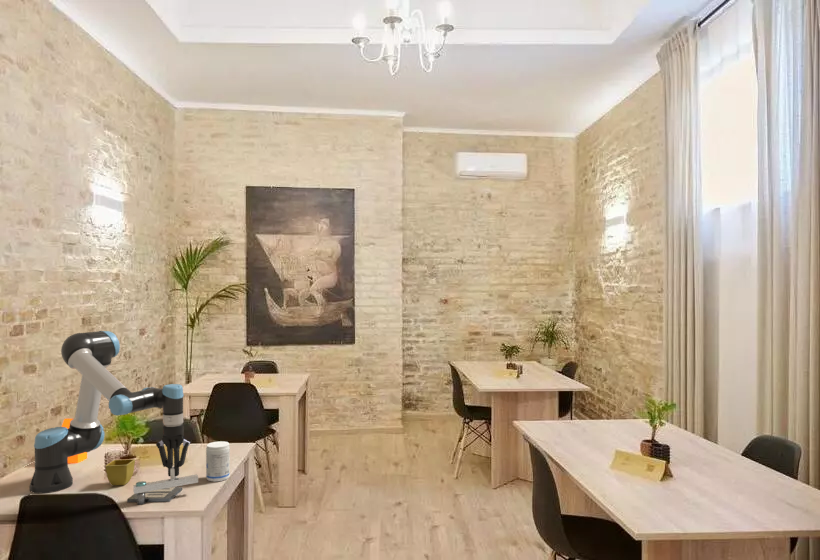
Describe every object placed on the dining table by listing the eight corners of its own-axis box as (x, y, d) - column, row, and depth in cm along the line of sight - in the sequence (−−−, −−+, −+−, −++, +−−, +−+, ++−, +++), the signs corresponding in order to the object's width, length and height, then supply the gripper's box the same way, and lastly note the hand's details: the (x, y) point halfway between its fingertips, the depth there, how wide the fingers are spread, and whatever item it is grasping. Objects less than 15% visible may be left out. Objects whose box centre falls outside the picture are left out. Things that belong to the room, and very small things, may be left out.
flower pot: (114, 480, 250) (114, 459, 250) (135, 480, 250) (135, 458, 250) (105, 487, 241) (105, 465, 241) (127, 487, 241) (127, 465, 241)
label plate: (127, 502, 224) (127, 498, 224) (142, 490, 237) (142, 486, 237) (169, 501, 224) (169, 497, 224) (182, 489, 237) (182, 486, 237)
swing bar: (134, 494, 220) (134, 485, 220) (133, 491, 223) (133, 482, 223) (198, 482, 232) (198, 474, 232) (196, 480, 235) (196, 472, 235)
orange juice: (69, 458, 283) (69, 416, 284) (87, 458, 283) (87, 416, 283) (59, 463, 276) (59, 420, 276) (77, 463, 275) (77, 420, 275)
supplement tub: (205, 476, 253) (205, 442, 253) (228, 473, 257) (228, 440, 257) (207, 483, 244) (207, 448, 244) (231, 480, 248) (230, 445, 248)
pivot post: (135, 504, 221) (135, 494, 221) (139, 502, 224) (139, 491, 224) (143, 504, 221) (143, 494, 221) (146, 502, 224) (146, 491, 224)
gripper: (152, 426, 227) (153, 487, 227) (186, 426, 227) (186, 487, 228) (160, 422, 235) (161, 481, 235) (193, 421, 235) (193, 480, 235)
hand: (173, 484), depth 231 cm, fingers closed
